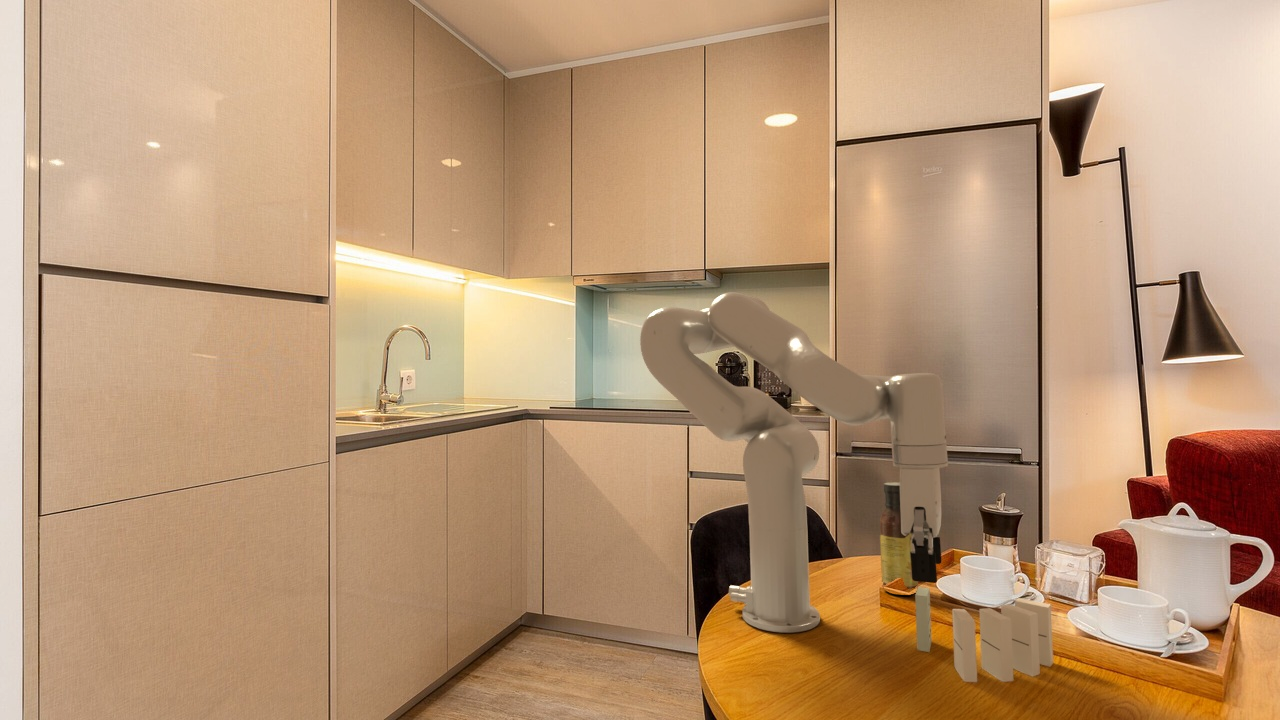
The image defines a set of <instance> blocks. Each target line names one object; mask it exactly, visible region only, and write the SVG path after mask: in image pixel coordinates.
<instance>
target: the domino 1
mask: <svg viewBox="0 0 1280 720" xmlns="http://www.w3.org/2000/svg"><path fill="white" fill-rule="evenodd" d="M951 613H952V636H953V637H952V638H953V659H954V660H953V662H954V663H953V665H954V669H955V670H956V672H957V673H958V675H959V676H960V678H961V679H962V681H963V682H965V683H978V669H977V668H978V667H977V666H978V665H977V643H976V638H977V637H976V620H975V619H974V617H972V615H971V614H970V613H969V612H968V611H967V610H966V609H965V608H952V612H951Z"/></svg>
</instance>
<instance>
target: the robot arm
mask: <svg viewBox="0 0 1280 720" xmlns="http://www.w3.org/2000/svg"><path fill="white" fill-rule="evenodd" d="M639 337H640V338H639V339H640V340H639V341H640V342H639V343H640V353H641V356H642V359H643V361H644V364H645V366H646V367H647V369H648V370H649V372H650V374H651V375H652V376H653V377H654V378H655V380H656V381H657V382H658V383H659V384H660V385H661V386H662V387H663V388H664V389H665V390H667V391H668V392H669V393H670V394H671V395H672V396H673V397H674V398H676V399H677V401H678V402H680V404H681V405H682V406H683V407H685V409H686V410H687V411H689V413H691V414H692V415H693V416H694V417H695V418H696V419H697V420H698V421H699V422H701V424H703V426H704V427H706V429H707V430H708V431H710V433H712V434H713V435H714V436H715V437H716V438H718V439H719V440H722V441H725V442H735V441H742V440H744V441H745V442H747V444H746V446H745V448H744V450H743V456H742V467H743V476H744V481H745V488H746V495H747V506H748V526H749V527H748V528H749V558H750V560H749V562H750V585H748V586H747V587H742V586H740V585H732V584H730V586H729V588H728V596H729V597H730V600H731V602H738V603H739V602H741V603H743V604H744V606H743V607H742V614H741V616H742V619H743V620H744V622H746V624H748V625H750V626H751V627H754V628H757V629H759V630H763V631H767V632H772V633H783V634H784V633H785V634H787V633H788V634H790V633H791V634H792V633H801V632H805V631H810V630H811V629H814V628H815V627H817V626H818V625H819V624H820V622H821V621H820V620H821V616H820V615H821V614H820V612H819V610H818V609H817V608H816V607H815V606H813V605H811V604H810V603H811V600H810V599H811V597H810V575H809V574H810V571H809V565H810V564H809V543H808V542H809V540H808V539H809V538H808V537H809V536H808V534H809V533H808V515H807V514H808V513H807V511H808V510H807V503H806V501H807V500H806V495H805V489H804V485H803V484H804V483H803V477H805V476H806V475H807V474H809V473H810V472H812V471H813V470H814V469H815V467H816V466H817V464H818V462H819V458H820V446H819V444H818V441H817V438H815V436H814V434H813V433H812V432H811V431H810V430H809V428H807V426H805V425H804V424H803V423H801V422H800V420H798V419H797V418H796V417H795V416H793V415H792V414H791V413H790V412H789V411H787V410H786V409H785V408H784V407H783V406H782V405H781V404H779V403H778V402H777V401H775V399H773V398H772V397H771V396H770V395H769V394H767V393H766V392H764V391H762V390H760V389H759V388H756V387H752V386H737V385H733V384H732V383H731V382H729V381H728V380H727V379H726V378H724V377H723V376H722V375H721V374H719V372H717V370H715V369H714V368H713V367H712V366H711V365H709V364H708V363H707V362H705V361H704V360H703V359H701V358H699V357H698V356H696V355H699V354H705V353H710V352H715V351H720V350H724V349H725V350H726V349H730V348H733V347H734V348H735V349H737V350H739V351H740V352H742V353H743V354H745V355H746V356H748V357H749V358H751V359H753V360H754V361H755V362H757V363H759V364H760V365H762V366H763V367H765V368H766V369H768V370H769V371H770V372H772V373H773V374H774V375H775V376H777V378H778V379H779V380H781V381H782V382H783V383H784V384H785V385H786V386H787V387H789V388H790V389H791V390H792V391H793V392H795V393H796V394H797V395H798V396H799V397H801V398H803V400H805V401H806V402H808V403H810V404H811V405H812V406H814V407H816V408H817V409H819V410H820V411H821V412H823V413H825V414H826V415H828V416H829V417H831V418H833V419H835V420H836V421H838V422H839V423H842V424H844V425H845V424H846V425H848V426H862V425H865V424H868V423H872V422H876V421H880V420H881V421H882V420H887V419H888V420H889V423H890V438H891V440H890V441H891V454H892V456H891V457H892V466H893V467H894V468H899V483H900V508H901V533H902V534H903V535H904V536H907V534H910V531H911V552H910V555H911V569H912V579H913V580H914V581H918V583H929V584H930V583H931V584H936V583H937V582H938V574H937V565H941V564H942V561H943V560H942V549H941V536H939V533H940V530H941V525H942V490H941V474H940V473H941V472H940V469H942V468H945V467H946V468H947V467H948V466H949V462H948V461H949V460H948V447H947V446H948V445H947V433H946V419H945V409H944V408H945V407H944V404H945V403H944V393H943V392H944V391H943V390H944V389H943V383H942V382H943V381H942V379H941V377H940V376H939V375H938V374H935V373H931V372H919V373H918V372H917V373H916V372H915V373H914V372H913V373H902V374H895V375H892V376H891V375H890V376H887V375H876V374H858V373H857V372H854V371H853V370H851V369H850V368H848V367H846V366H845V365H843V364H841V363H840V362H838V361H837V360H835V359H833V358H831V357H830V356H828V355H827V354H825V353H824V352H823V351H821V350H820V349H819V348H817V347H816V346H815V345H814V344H813V342H812V341H811V339H810V338H809V335H808V334H807V333H806V332H805V331H804V330H803V329H802V328H800V327H799V326H797V325H795V324H794V323H792V322H790V321H788V320H787V319H784V317H781V316H780V315H778V314H776V313H775V312H774V311H772V310H770V308H769V306H768V305H767V304H766V303H765V302H764V301H763V300H762V299H760V298H758V297H757V296H752V295H749V294H745V293H741V292H737V291H736V292H735V291H731V292H730V291H729V292H725V293H722V294H721V295H719V296H717V297H716V298H715V299H714V300H713V301H712V302H711V304H710V306H709V307H707V308H703V309H699V310H694V309H689V308H683V307H676V306H668V307H661V308H659V309H656V310H654V311H653V312H651V313H650V314H648V316H647V317H646V319H645V320H644V321H643V324H642V327H641V331H640V336H639Z"/></svg>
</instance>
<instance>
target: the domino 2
mask: <svg viewBox="0 0 1280 720" xmlns="http://www.w3.org/2000/svg"><path fill="white" fill-rule="evenodd" d="M979 633H980V634H979V635H980V659H981V667H980V668H981V669H982V670H984V671H985V672H987V673H988V674H990V675H991V676H992V677H994V678H995V679H998V680H999V681H1000V682H1002V683H1006V682H1013V681H1014V669H1013V655H1012V629H1011V619H1010V618H1008V617H1006V616H1004V615H1002V614H1001V612H998V611H997V610H995V609H992V608H990V607H987V608H986V607H985V608H979Z"/></svg>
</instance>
